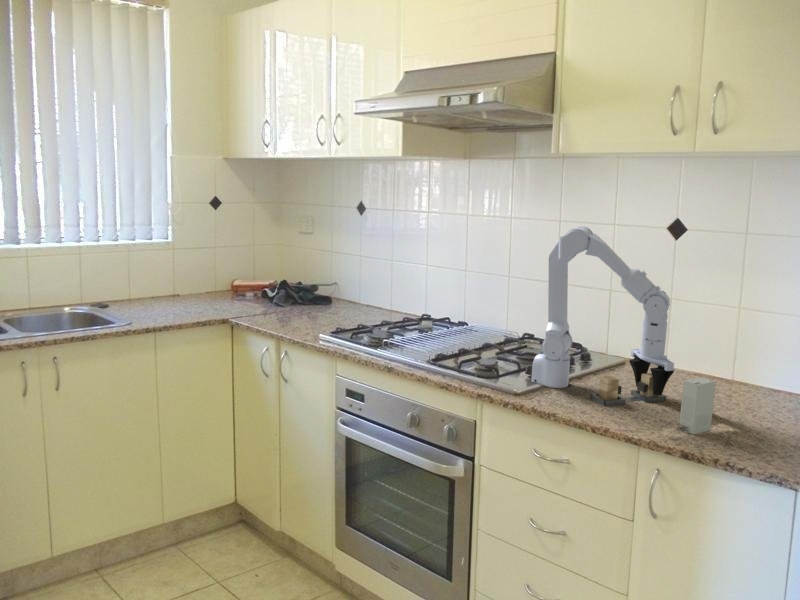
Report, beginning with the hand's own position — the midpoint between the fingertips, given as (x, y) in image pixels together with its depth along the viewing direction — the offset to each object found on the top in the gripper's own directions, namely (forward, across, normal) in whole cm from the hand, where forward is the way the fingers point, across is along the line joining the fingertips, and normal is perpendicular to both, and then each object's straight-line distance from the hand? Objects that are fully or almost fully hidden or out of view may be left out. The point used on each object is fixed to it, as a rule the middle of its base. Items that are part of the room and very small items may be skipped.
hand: (648, 390), depth 181 cm
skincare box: (+4, -20, +2) cm, 20 cm away
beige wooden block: (+2, 0, 0) cm, 2 cm away
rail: (+3, 0, +6) cm, 7 cm away
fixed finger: (+2, 0, +12) cm, 12 cm away
